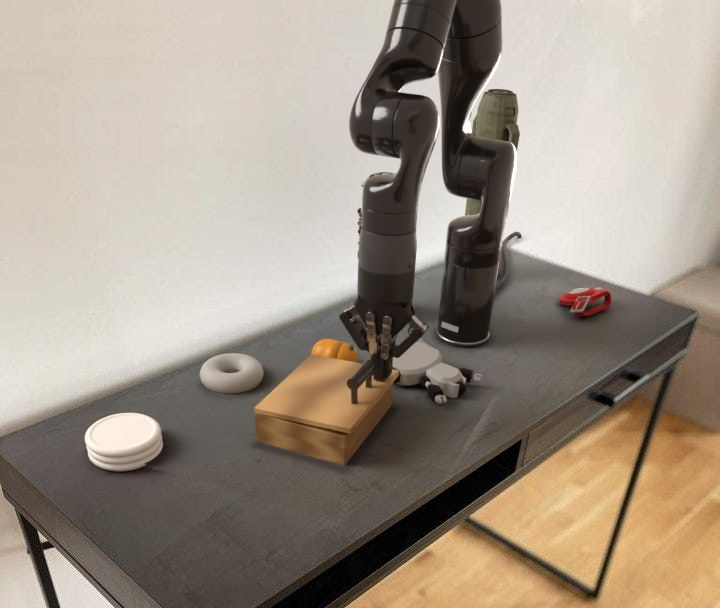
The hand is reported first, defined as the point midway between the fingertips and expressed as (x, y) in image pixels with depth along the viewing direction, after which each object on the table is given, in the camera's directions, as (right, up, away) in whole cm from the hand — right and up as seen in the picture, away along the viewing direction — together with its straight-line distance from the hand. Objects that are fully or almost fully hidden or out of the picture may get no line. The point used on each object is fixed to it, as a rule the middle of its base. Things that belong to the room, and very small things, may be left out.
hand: (380, 378), depth 109 cm
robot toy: (+8, 0, +13) cm, 15 cm away
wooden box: (-8, -7, +2) cm, 11 cm away
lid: (-7, -2, -2) cm, 8 cm away
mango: (-7, +3, +16) cm, 17 cm away
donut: (-23, +1, +11) cm, 26 cm away
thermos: (+22, +29, +52) cm, 63 cm away
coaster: (-35, -11, -5) cm, 37 cm away
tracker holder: (+40, +19, +39) cm, 59 cm away
